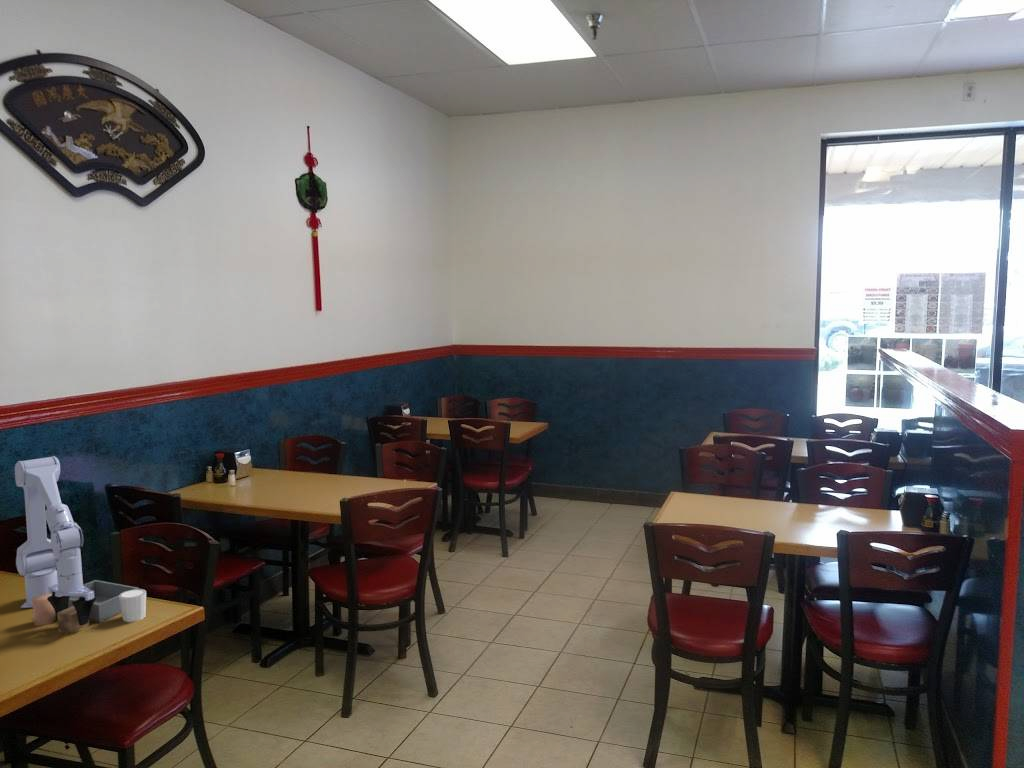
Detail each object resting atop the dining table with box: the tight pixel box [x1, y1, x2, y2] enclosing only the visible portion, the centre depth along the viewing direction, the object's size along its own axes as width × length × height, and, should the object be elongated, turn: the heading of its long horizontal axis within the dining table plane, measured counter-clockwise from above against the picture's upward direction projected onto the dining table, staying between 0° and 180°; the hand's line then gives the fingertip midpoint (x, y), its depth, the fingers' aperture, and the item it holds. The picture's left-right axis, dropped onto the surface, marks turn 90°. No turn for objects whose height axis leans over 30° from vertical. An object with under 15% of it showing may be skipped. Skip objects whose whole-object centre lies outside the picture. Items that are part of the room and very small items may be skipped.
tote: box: [55, 579, 140, 623], centre depth 216 cm, size 17×13×5 cm
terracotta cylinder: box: [32, 594, 57, 627], centre depth 208 cm, size 5×5×7 cm
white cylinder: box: [119, 588, 147, 623], centre depth 210 cm, size 7×7×7 cm
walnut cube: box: [56, 606, 90, 634], centre depth 204 cm, size 5×5×5 cm
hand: (73, 622), depth 204 cm, fingers open, 7 cm apart
